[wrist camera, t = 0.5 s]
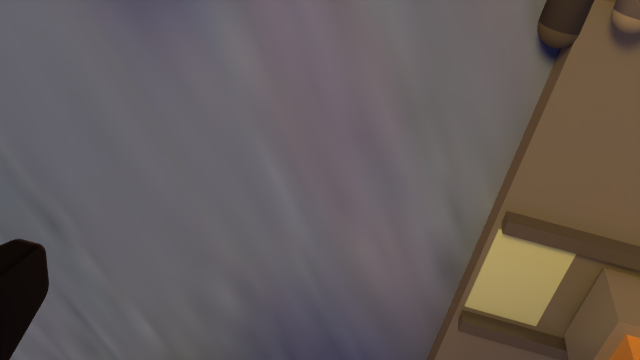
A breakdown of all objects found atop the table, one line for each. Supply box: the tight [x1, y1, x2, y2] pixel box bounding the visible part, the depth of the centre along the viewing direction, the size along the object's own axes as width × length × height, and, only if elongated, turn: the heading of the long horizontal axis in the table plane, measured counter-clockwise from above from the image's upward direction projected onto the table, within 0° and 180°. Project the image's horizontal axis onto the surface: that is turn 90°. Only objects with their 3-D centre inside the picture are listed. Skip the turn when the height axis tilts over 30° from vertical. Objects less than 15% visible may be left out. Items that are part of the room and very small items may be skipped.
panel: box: [427, 0, 640, 360], centre depth 21 cm, size 20×10×2 cm, turn 169°
